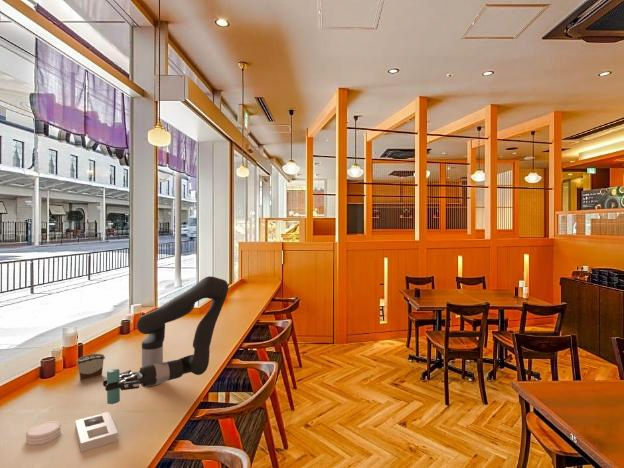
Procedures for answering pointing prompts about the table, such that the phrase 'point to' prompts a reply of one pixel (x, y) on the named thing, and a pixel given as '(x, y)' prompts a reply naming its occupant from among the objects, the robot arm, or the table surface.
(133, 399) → the table surface
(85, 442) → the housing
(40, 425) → the coaster
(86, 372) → the food container
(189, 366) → the robot arm
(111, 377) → the teal cylinder
